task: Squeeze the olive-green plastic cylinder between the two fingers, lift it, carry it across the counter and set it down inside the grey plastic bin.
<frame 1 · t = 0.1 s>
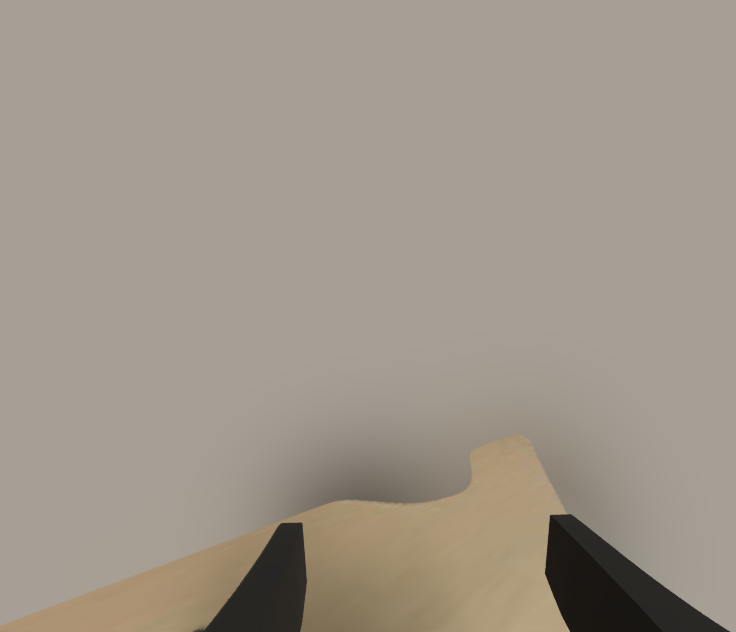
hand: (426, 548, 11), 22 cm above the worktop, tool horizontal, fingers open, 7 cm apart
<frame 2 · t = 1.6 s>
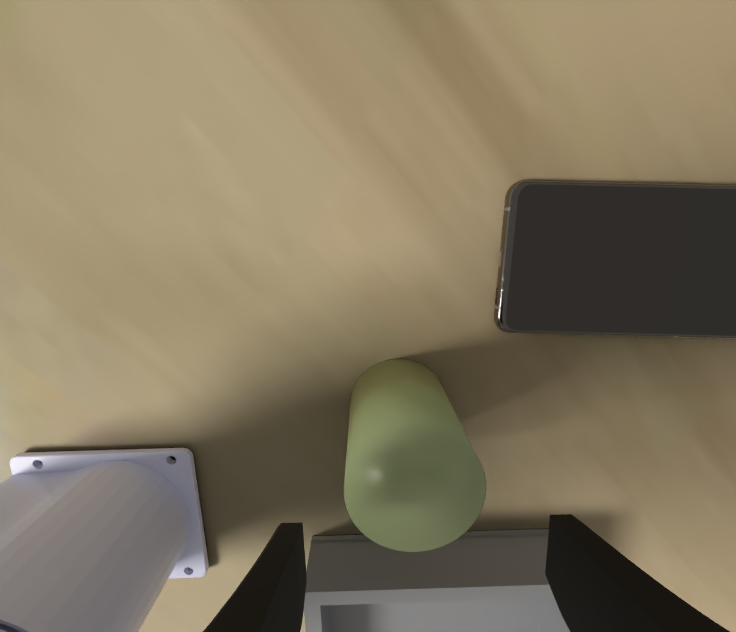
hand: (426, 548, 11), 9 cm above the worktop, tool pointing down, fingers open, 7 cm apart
smartphone: (652, 262, 19), on the worktop
grey bin: (433, 616, 23), on the worktop
green cylinder: (397, 403, 20), on the worktop
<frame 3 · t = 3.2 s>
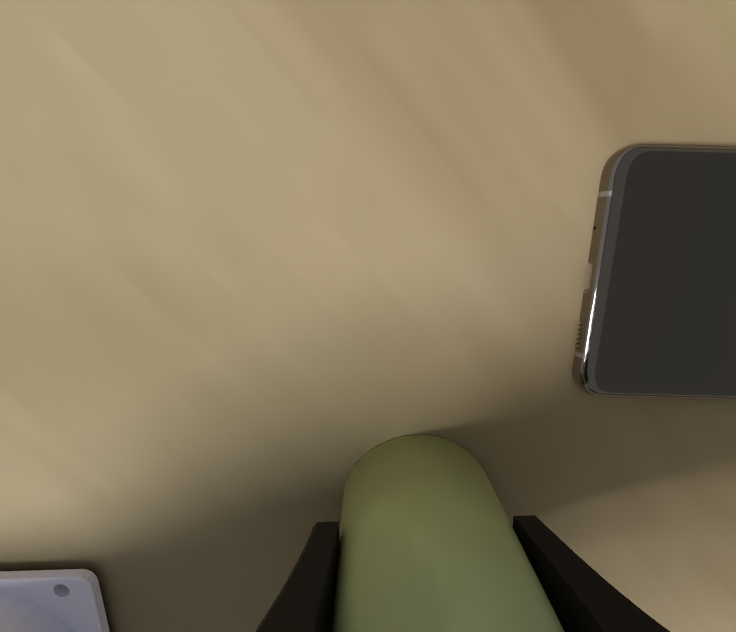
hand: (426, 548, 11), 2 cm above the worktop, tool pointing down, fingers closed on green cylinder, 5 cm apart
green cylinder: (416, 501, 13), on the worktop, touching gripper
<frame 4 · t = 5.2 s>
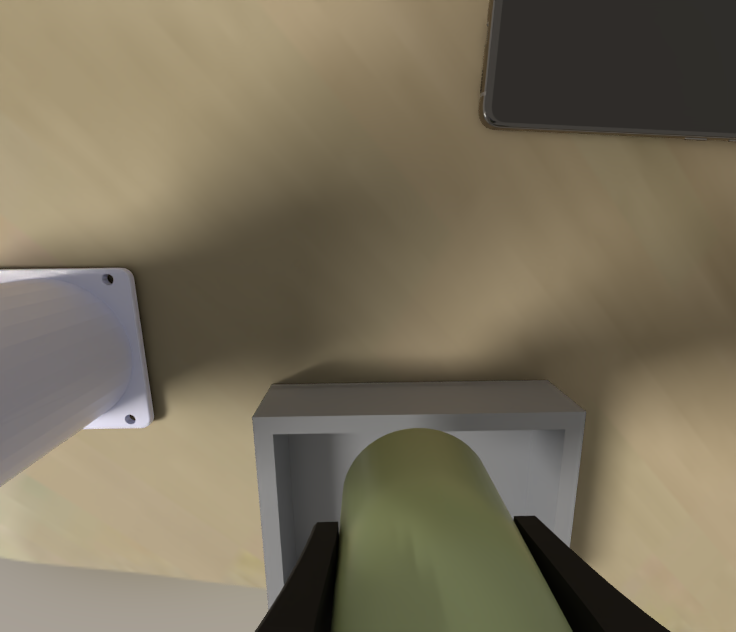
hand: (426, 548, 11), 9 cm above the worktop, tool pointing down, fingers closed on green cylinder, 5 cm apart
smartphone: (661, 53, 17), on the worktop
grey bin: (408, 486, 21), on the worktop
green cylinder: (416, 496, 13), point 7 cm above the worktop, touching gripper
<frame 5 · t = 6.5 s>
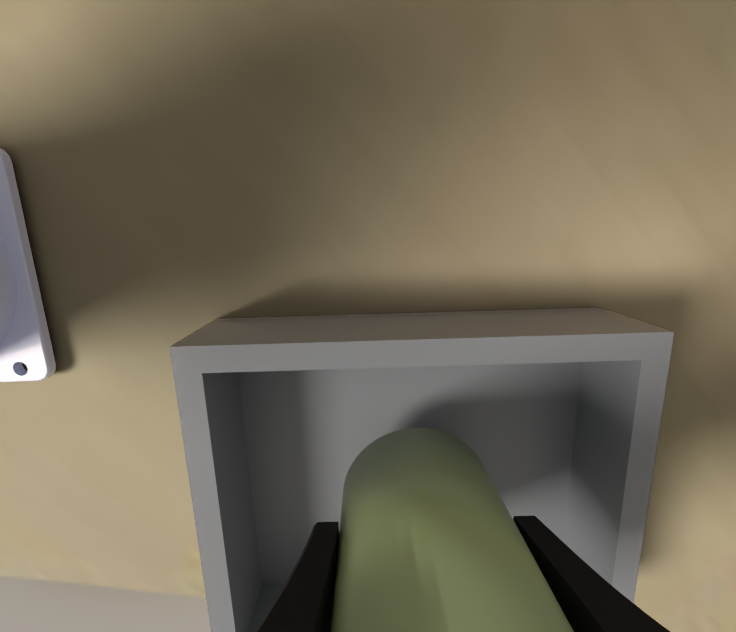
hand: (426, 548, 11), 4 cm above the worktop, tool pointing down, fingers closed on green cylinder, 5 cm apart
grey bin: (409, 459, 15), on the worktop
green cylinder: (416, 496, 13), point 2 cm above the worktop, touching gripper
when the fingers open (4 cm above the worktop, at t = 7.3 s): green cylinder drops 2 cm, resting on grey bin.
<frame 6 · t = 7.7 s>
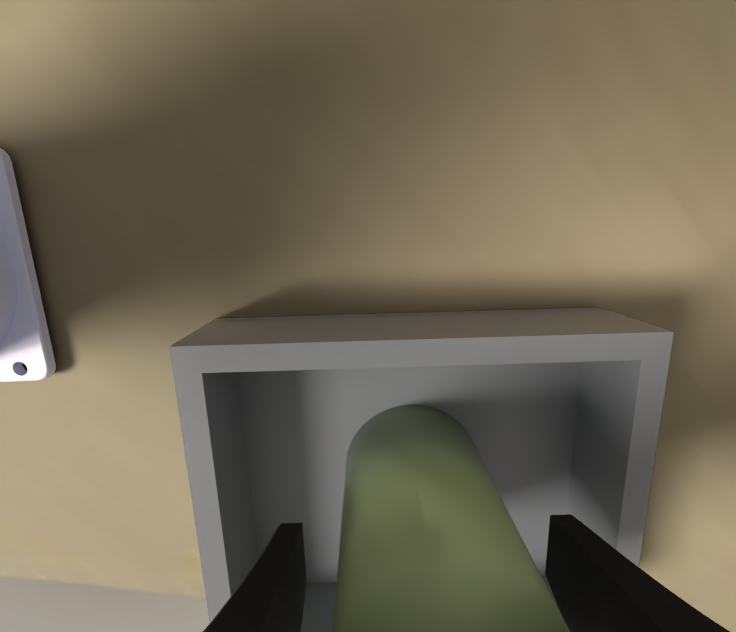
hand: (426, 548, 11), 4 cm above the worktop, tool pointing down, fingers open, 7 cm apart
grey bin: (408, 459, 15), on the worktop
green cylinder: (411, 465, 15), point 1 cm above the worktop, touching grey bin
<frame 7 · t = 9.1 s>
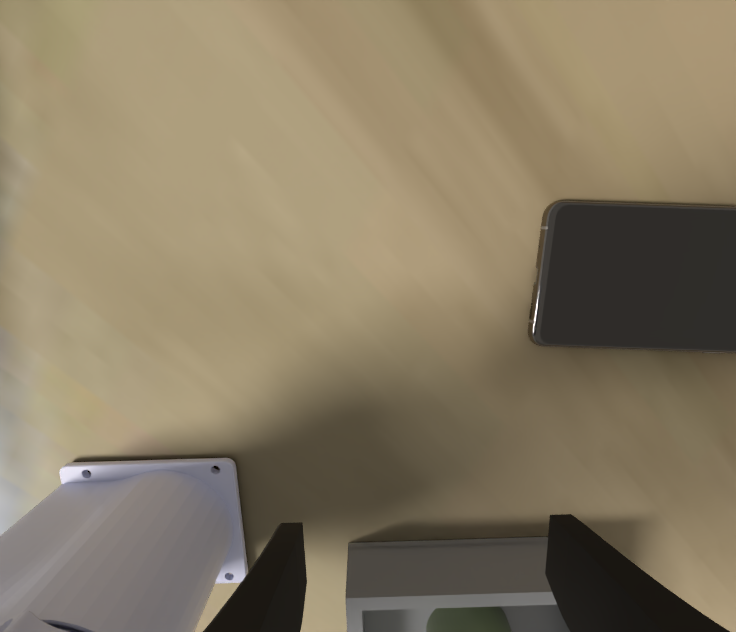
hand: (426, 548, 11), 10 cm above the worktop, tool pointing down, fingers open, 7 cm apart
smartphone: (681, 279, 20), on the worktop
grey bin: (464, 620, 24), on the worktop
green cylinder: (467, 628, 23), point 1 cm above the worktop, touching grey bin
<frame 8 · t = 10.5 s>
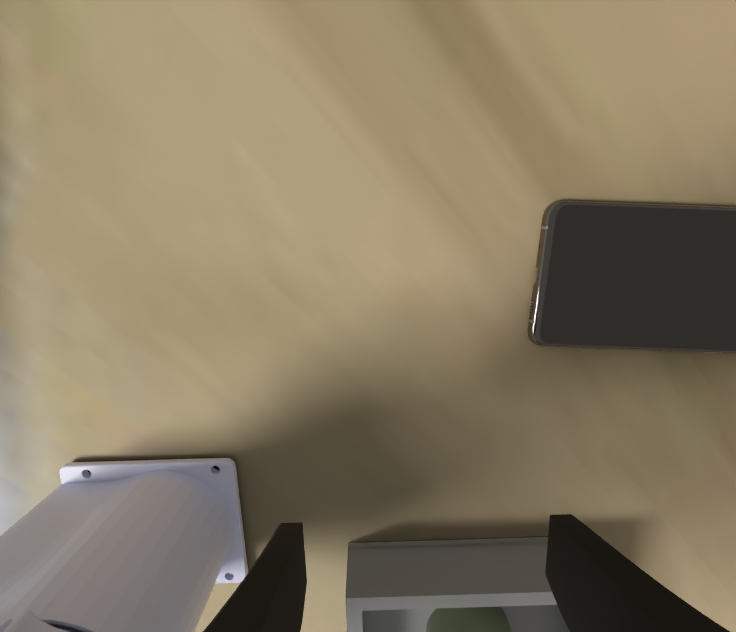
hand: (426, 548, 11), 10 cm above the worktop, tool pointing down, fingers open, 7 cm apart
smartphone: (681, 279, 20), on the worktop
grey bin: (464, 620, 24), on the worktop
green cylinder: (467, 628, 23), point 1 cm above the worktop, touching grey bin
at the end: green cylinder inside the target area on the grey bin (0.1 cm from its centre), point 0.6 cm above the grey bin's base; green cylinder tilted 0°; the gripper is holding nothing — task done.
